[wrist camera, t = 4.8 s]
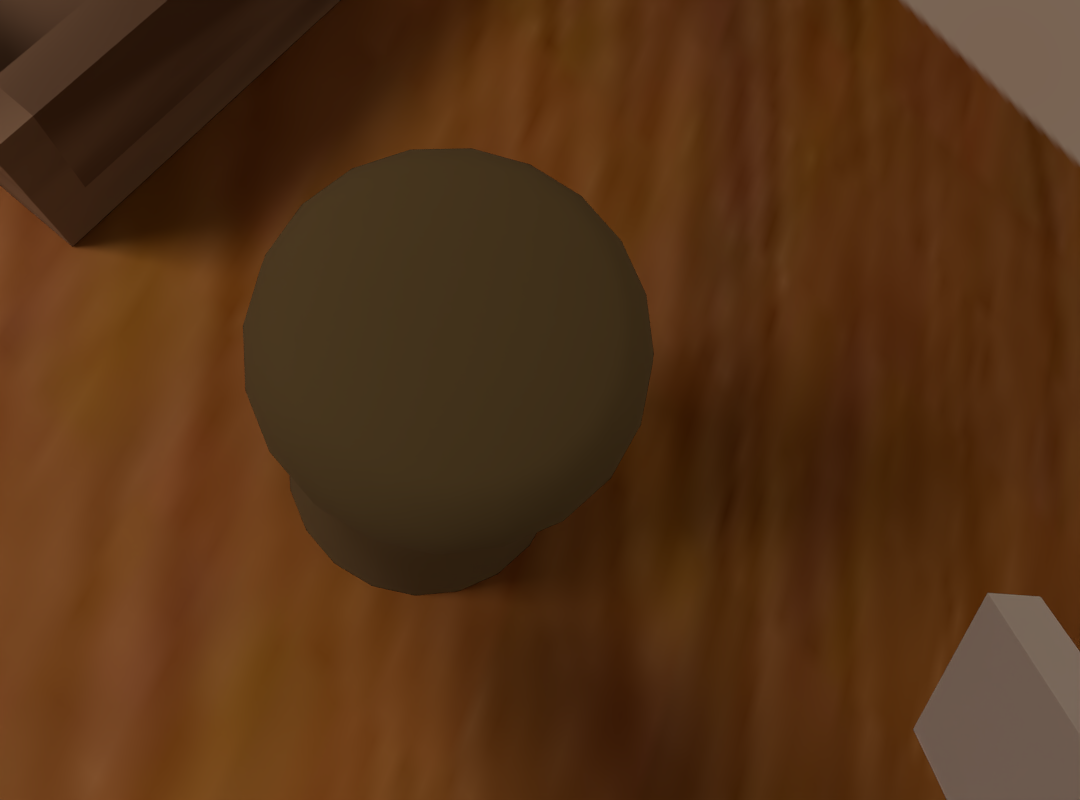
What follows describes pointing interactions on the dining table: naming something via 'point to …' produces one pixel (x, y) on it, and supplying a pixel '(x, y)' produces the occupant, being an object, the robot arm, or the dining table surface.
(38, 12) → the stand
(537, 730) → the dining table surface
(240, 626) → the dining table surface
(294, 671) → the dining table surface
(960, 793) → the robot arm
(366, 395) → the cork
